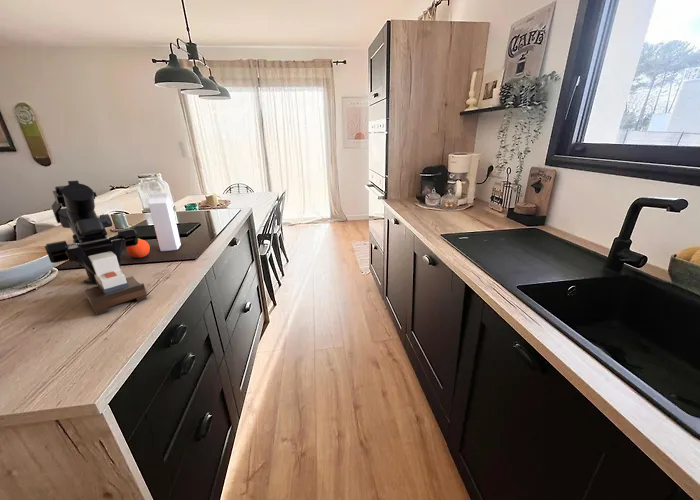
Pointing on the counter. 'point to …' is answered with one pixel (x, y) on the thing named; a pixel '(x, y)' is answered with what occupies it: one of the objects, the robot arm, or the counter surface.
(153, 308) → the counter surface
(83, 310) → the counter surface
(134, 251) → the clementine
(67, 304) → the counter surface
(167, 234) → the milk
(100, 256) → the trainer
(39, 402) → the counter surface
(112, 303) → the brown wooden stand
